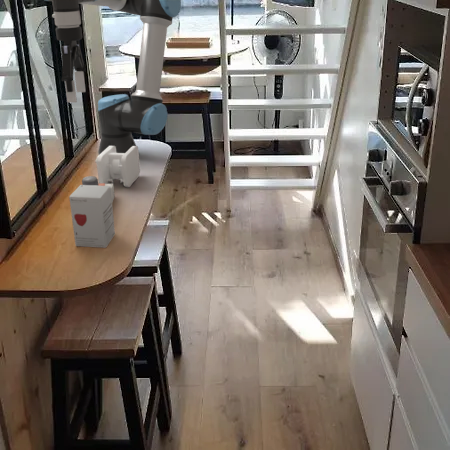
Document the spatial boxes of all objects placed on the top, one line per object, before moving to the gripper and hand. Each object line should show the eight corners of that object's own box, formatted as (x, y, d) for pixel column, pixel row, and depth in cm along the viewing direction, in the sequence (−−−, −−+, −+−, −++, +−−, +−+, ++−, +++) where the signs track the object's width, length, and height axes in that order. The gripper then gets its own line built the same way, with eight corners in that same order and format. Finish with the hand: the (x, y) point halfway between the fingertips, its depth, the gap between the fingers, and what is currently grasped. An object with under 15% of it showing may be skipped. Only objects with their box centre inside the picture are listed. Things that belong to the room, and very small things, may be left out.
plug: (98, 206, 187) (94, 174, 183) (103, 211, 184) (99, 179, 179) (83, 209, 185) (79, 177, 181) (88, 215, 182) (84, 182, 177)
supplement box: (74, 246, 167) (67, 196, 160) (85, 232, 175) (79, 184, 168) (106, 248, 165) (100, 197, 159) (116, 234, 173) (111, 185, 167)
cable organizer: (127, 191, 203) (124, 158, 198) (97, 189, 205) (94, 157, 200) (141, 175, 216) (138, 144, 211) (112, 174, 218) (109, 143, 213)
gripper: (65, 21, 192) (73, 88, 201) (44, 32, 170) (55, 107, 179) (88, 20, 192) (96, 87, 201) (71, 31, 170) (80, 106, 179)
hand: (76, 97), depth 190 cm, fingers open, 13 cm apart
